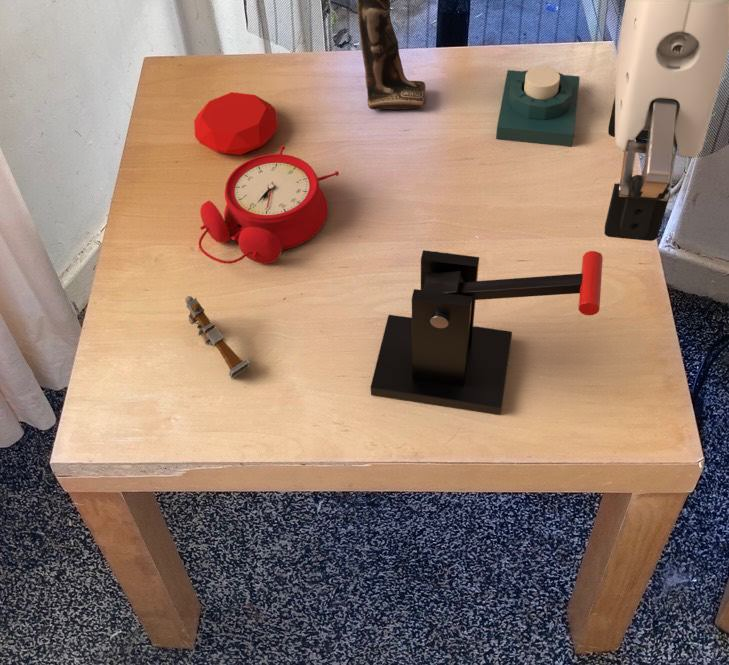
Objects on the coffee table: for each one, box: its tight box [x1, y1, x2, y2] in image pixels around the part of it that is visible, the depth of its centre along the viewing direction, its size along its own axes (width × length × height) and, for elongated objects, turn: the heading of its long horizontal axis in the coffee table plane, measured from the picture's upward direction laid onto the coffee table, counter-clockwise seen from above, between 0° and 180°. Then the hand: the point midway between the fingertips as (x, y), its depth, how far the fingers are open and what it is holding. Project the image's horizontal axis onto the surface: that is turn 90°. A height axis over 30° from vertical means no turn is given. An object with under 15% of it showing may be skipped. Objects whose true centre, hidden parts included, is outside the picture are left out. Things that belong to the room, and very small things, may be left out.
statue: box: [356, 0, 426, 111], centre depth 88 cm, size 4×7×20 cm, turn 89°
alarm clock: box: [197, 145, 340, 265], centre depth 83 cm, size 10×6×15 cm
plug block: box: [495, 69, 581, 147], centre depth 92 cm, size 8×10×4 cm
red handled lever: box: [423, 250, 604, 316], centre depth 64 cm, size 13×5×2 cm, turn 78°
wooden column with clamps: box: [184, 295, 250, 379], centre depth 75 cm, size 2×8×4 cm, turn 40°
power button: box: [524, 65, 560, 100], centre depth 91 cm, size 4×4×2 cm
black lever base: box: [369, 249, 513, 416], centre depth 69 cm, size 11×8×12 cm
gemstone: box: [193, 91, 279, 156], centre depth 93 cm, size 9×9×3 cm
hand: (630, 183), depth 56 cm, fingers open, 9 cm apart
